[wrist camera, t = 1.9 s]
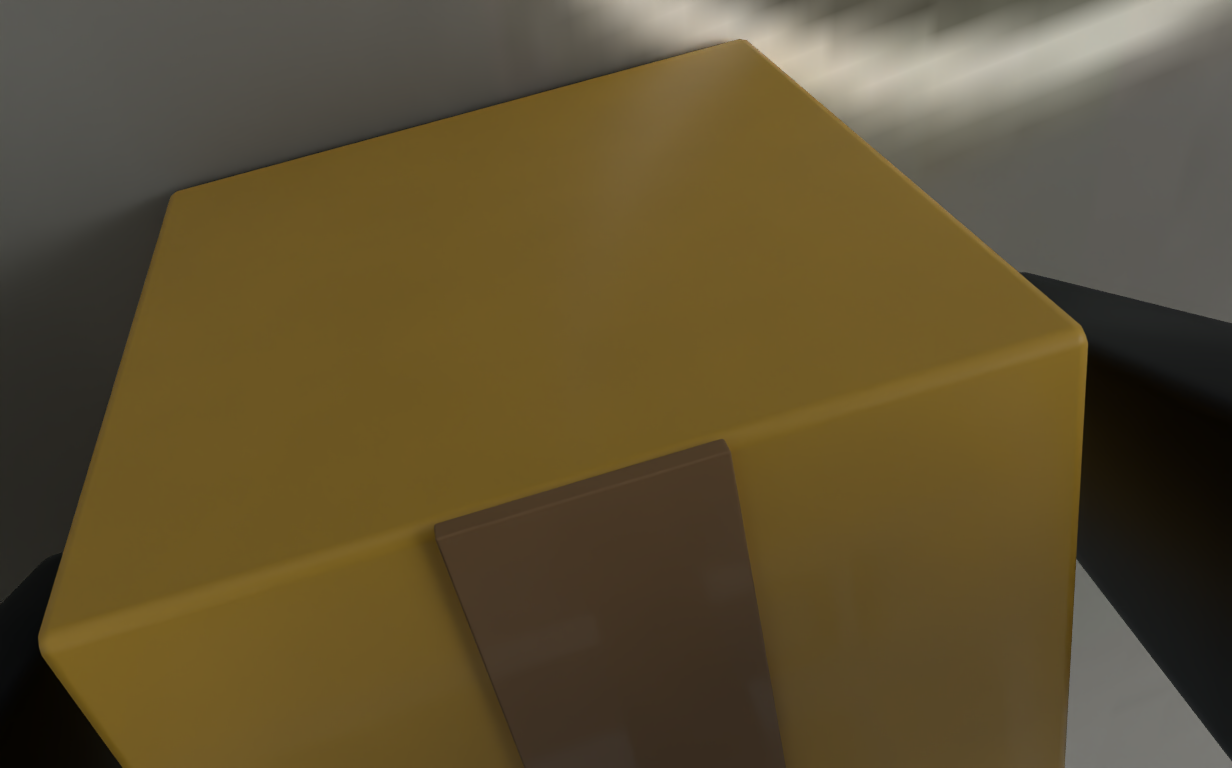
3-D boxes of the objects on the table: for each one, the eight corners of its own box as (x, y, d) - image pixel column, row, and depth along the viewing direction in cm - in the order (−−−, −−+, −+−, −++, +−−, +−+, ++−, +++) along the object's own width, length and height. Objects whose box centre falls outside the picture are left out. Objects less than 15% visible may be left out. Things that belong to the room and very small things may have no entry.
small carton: (809, 523, 11) (1066, 970, 7) (381, 653, 11) (414, 1193, 7) (746, 33, 8) (1107, 339, 4) (167, 191, 8) (22, 664, 4)
